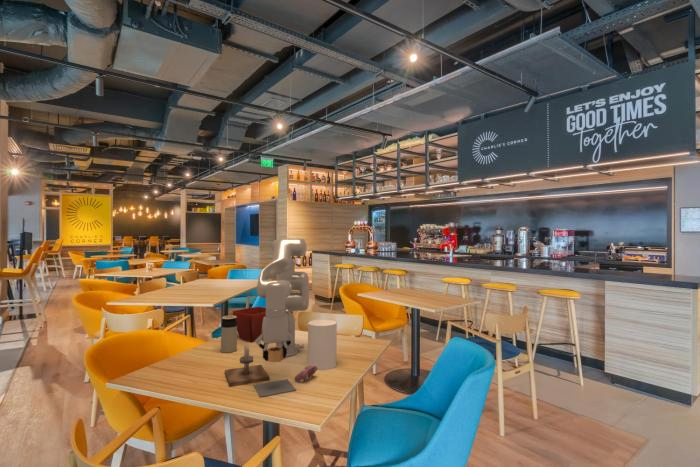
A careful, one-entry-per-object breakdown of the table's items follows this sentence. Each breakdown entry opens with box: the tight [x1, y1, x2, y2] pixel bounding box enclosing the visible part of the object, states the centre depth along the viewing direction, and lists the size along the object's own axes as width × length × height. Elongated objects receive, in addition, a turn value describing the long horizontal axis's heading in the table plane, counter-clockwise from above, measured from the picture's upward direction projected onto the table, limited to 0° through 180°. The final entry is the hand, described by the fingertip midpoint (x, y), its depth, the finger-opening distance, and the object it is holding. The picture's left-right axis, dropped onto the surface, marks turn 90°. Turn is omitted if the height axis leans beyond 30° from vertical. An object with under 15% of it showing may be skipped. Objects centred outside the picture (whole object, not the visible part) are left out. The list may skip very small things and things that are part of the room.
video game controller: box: [294, 365, 318, 383], centre depth 151 cm, size 10×5×7 cm, turn 149°
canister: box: [307, 318, 338, 371], centre depth 168 cm, size 14×14×20 cm
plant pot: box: [232, 306, 266, 343], centre depth 213 cm, size 19×19×17 cm
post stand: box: [224, 345, 270, 388], centre depth 153 cm, size 16×16×13 cm
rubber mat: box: [253, 378, 297, 398], centre depth 141 cm, size 14×12×1 cm
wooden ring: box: [266, 346, 285, 363], centre depth 141 cm, size 6×6×4 cm
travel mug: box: [220, 315, 238, 354], centre depth 189 cm, size 8×8×18 cm
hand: (274, 358), depth 141 cm, fingers closed on wooden ring, 6 cm apart
